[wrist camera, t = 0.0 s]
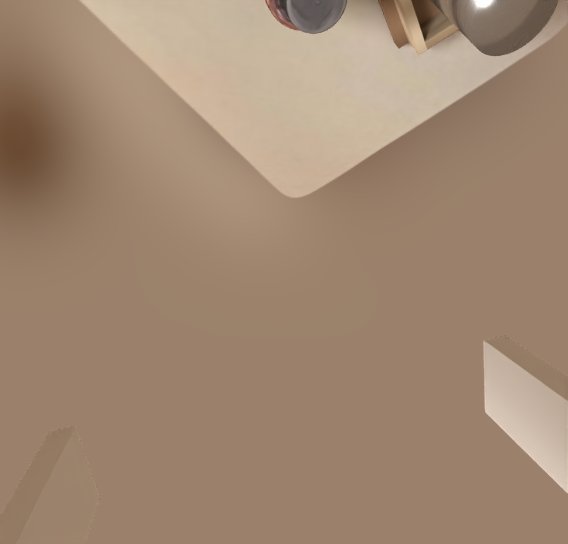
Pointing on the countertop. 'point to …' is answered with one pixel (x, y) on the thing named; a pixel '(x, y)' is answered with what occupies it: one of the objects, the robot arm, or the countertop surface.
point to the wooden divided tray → (416, 23)
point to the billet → (498, 21)
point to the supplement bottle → (307, 13)
